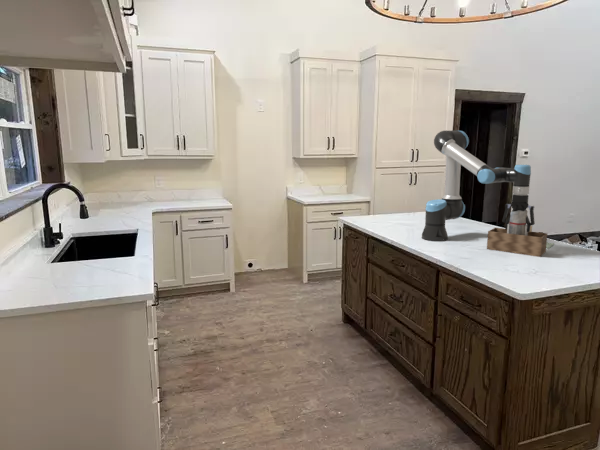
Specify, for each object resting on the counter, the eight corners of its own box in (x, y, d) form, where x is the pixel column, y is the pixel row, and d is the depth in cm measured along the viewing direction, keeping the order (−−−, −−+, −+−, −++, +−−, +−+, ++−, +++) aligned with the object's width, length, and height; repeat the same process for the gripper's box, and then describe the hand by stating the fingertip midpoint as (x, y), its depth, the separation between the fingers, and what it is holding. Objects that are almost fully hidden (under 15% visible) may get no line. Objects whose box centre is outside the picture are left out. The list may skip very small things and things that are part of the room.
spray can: (524, 248, 216) (527, 211, 212) (507, 246, 220) (510, 210, 216) (525, 245, 223) (528, 208, 219) (508, 243, 227) (511, 207, 223)
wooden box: (486, 249, 226) (488, 231, 224) (493, 244, 235) (495, 227, 233) (540, 256, 209) (542, 237, 207) (545, 251, 218) (547, 233, 216)
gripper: (497, 193, 220) (494, 235, 225) (541, 196, 207) (536, 240, 211) (501, 192, 226) (498, 232, 230) (544, 194, 212) (540, 237, 217)
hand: (516, 236), depth 221 cm, fingers closed on spray can, 8 cm apart
